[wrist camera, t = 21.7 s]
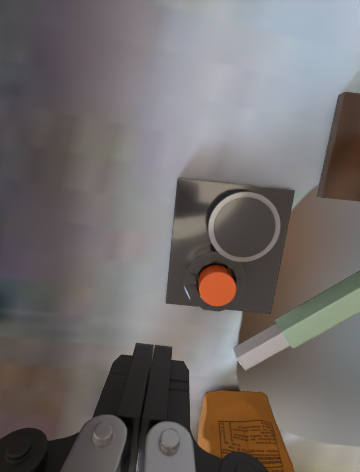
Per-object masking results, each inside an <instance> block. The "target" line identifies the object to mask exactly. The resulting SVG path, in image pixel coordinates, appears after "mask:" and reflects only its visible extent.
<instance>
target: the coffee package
mask: <svg viewBox="0 0 360 472" xmlns="http://www.w3.org/2000/svg"><path fill="white" fill-rule="evenodd" d="M198 445H199V446H200V447H201V448H202V449H203V450H205V451H206V452H208V453H210V454H212V455H215V456H217V457H219V458H221V459H223V458H224V457H225V456H226V455H227V454H229V453H231V452H245V453H247V454H250V455H252V456H253V457H255V458H256V459H258V460H259V461H260V462H261V463H262V464H263V465H264V466H265V467H266V469H267V470H268V471H269V472H294V469H293V465H292V462H291V460H290V457H289V455H288V452H287V450H286V447H285V445H284V442H283V439H282V436H281V434H280V431H279V429H278V426H277V424H276V422H275V419H274V416H273V413H272V410H271V407H270V404H269V401H268V398H267V395H266V394H264V393H261V392H245V391H243V392H238V391H226V390H218V391H214V392H207V393H206V394H205V396H204V399H203V404H202V409H201V415H200V420H199V427H198Z"/></svg>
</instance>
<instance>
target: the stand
mask: <svg viewBox="0 0 360 472" xmlns="http://www.w3.org/2000/svg"><path fill="white" fill-rule="evenodd" d="M317 196H318V197H322V198H333V199H342V200H353V201H360V94H358V93H349V92H345V93H342V94H340V95H339V96H338V101H337V106H336V110H335V115H334V120H333V124H332V129H331V133H330V138H329V143H328V147H327V152H326V157H325V161H324V166H323V171H322V175H321V180H320V184H319V189H318V194H317Z"/></svg>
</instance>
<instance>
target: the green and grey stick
mask: <svg viewBox="0 0 360 472" xmlns="http://www.w3.org/2000/svg"><path fill="white" fill-rule="evenodd" d="M359 312H360V271H358V272H357V273H355V274H353V275H351V276H350V277H348V278H346V279H344V280H343V281H341V282H339V283H338V284H336V285H334V286H332V287H331V288H329V289H327V290H325V291H324V292H322V293H320V294H319V295H317V296H315V297H313V298H312V299H310V300H308V301H306V302H305V303H303V304H301V305H299V306H298V307H296V308H294V309H293V310H291V311H289V312H287V313H286V314H284V315H282V316H281V317H279V318H277V319H275V322H276V324H274V325H272V326H271V327H269V328H267V329H265V330H264V331H262V332H260V333H259V334H257V335H255V336H253V337H252V338H250V339H248V340H246V341H245V342H243V343H241V344H239V345H238V346H236V347H234V351H235V355H236V359H237V360H238V361H239V363H240V364H241V365H242V367H243V368H244V369H245V370H247V369H249V368H251V367H252V366H254V365H256V364H258V363H260V362H262V361H263V360H265V359H267V358H269V357H270V356H272V355H274V354H276V353H278V352H280V351H281V350H283V349H285V348H287V347H289V346H291V347H292V349H294V348H295V347H297V346H299V345H301V344H303V343H304V342H306V341H308V340H310V339H312V338H314V337H315V336H317V335H319V334H321V333H322V332H324V331H326V330H328V329H330V328H332V327H333V326H335V325H337V324H339V323H340V322H342V321H344V320H346V319H348V318H350V317H351V316H353V315H355V314H357V313H359Z"/></svg>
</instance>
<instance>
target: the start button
mask: <svg viewBox="0 0 360 472" xmlns="http://www.w3.org/2000/svg"><path fill="white" fill-rule="evenodd" d="M198 284H199V292H200V296H201V298H202V299H203V300H204V301H205V302H206V303H207V304H209V305H212V306H223V305H225V304H227V303H229V302H230V301H231V300H232V299H233V298H234V296H235V294H236V284H235V281H234V279H233V277H232V274H231V272H230V271H229V270H228V269H227V268H226V267H224V266H221V265H211V266H208V267H206V268H205V269H204V270H203V271H202V272H201V273H200V275H199V279H198Z"/></svg>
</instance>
